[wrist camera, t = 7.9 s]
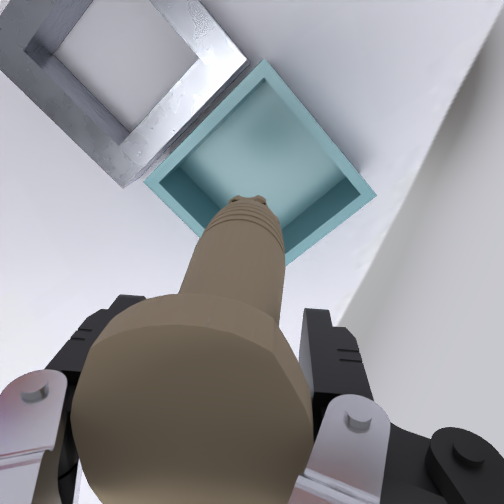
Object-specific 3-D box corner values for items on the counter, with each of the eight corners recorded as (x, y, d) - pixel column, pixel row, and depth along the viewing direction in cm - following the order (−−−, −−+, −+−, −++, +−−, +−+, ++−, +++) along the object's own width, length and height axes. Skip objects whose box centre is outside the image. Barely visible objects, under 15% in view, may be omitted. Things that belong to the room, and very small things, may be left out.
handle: (294, 161, 20) (320, 327, 6) (292, 272, 23) (307, 561, 9) (202, 162, 20) (40, 321, 7) (210, 271, 23) (104, 548, 9)
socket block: (13, 52, 32) (-22, 48, 29) (118, -98, 28) (93, -125, 24) (139, 177, 36) (122, 188, 32) (250, 62, 31) (246, 59, 28)
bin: (168, 163, 35) (143, 181, 29) (268, 63, 31) (264, 57, 25) (258, 256, 38) (253, 291, 32) (359, 174, 34) (377, 195, 28)
